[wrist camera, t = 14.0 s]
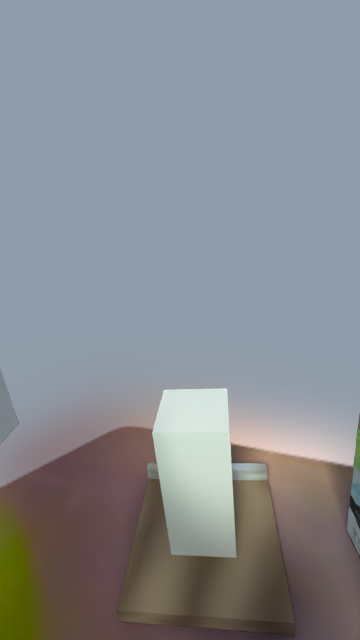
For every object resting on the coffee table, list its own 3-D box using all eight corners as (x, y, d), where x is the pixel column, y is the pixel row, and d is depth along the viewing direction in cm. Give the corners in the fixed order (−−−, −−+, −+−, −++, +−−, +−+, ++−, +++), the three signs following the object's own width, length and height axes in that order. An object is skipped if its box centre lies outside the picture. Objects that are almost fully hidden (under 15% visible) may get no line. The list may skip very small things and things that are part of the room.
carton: (236, 557, 28) (229, 432, 23) (171, 554, 29) (152, 432, 24) (232, 498, 34) (226, 387, 29) (178, 496, 35) (164, 389, 30)
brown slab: (119, 621, 26) (113, 598, 25) (152, 480, 39) (148, 461, 38) (294, 634, 24) (295, 610, 23) (266, 481, 37) (265, 462, 36)
